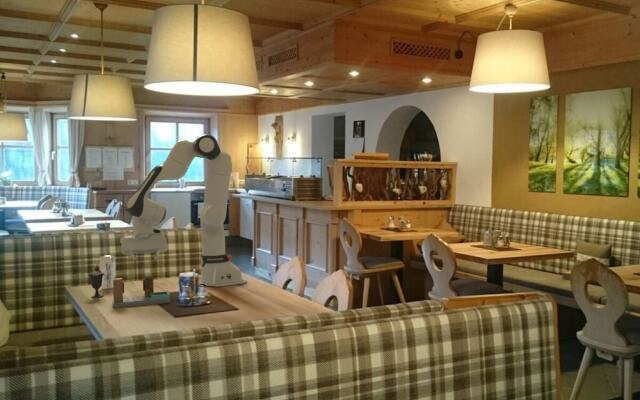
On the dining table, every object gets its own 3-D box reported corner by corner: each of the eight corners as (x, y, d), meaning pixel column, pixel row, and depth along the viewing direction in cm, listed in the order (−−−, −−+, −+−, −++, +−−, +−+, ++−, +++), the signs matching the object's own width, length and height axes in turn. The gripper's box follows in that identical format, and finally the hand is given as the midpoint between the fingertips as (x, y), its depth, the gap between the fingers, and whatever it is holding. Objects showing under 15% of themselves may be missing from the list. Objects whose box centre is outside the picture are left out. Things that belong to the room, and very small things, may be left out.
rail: (168, 299, 246) (167, 273, 246) (170, 302, 240) (169, 276, 239) (112, 304, 238) (111, 277, 238) (113, 308, 232) (112, 280, 231)
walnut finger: (153, 296, 253) (152, 275, 253) (153, 297, 250) (153, 277, 249) (143, 297, 252) (142, 276, 251) (143, 298, 248) (143, 278, 248)
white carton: (112, 289, 270) (111, 257, 270) (98, 289, 270) (96, 257, 270) (118, 286, 277) (117, 255, 277) (103, 286, 277) (102, 255, 277)
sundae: (98, 299, 249) (97, 264, 248) (85, 298, 251) (84, 263, 251) (108, 295, 255) (107, 262, 255) (96, 295, 258) (94, 261, 257)
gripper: (119, 232, 264) (121, 256, 256) (166, 230, 272) (168, 253, 263) (119, 241, 269) (121, 265, 260) (165, 238, 276) (168, 261, 267)
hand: (145, 259), depth 261 cm, fingers open, 8 cm apart
